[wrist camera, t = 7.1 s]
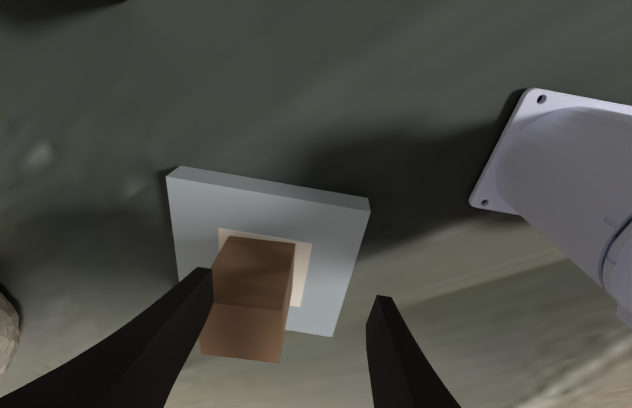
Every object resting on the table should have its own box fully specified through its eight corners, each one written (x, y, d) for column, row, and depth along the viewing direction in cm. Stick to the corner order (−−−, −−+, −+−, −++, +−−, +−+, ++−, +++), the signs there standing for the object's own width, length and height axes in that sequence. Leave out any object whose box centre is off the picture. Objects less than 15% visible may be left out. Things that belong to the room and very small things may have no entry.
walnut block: (295, 243, 20) (281, 311, 15) (292, 290, 22) (279, 363, 17) (228, 235, 20) (191, 300, 15) (232, 283, 23) (201, 353, 17)
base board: (367, 197, 20) (371, 212, 18) (332, 318, 27) (332, 338, 25) (180, 165, 20) (164, 176, 18) (193, 296, 27) (182, 314, 25)
